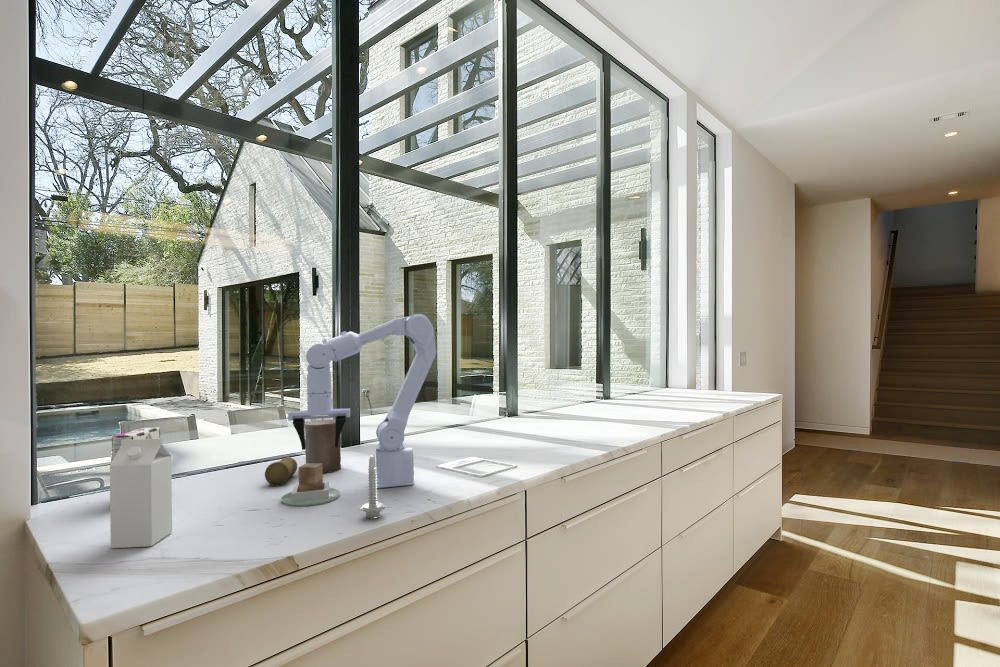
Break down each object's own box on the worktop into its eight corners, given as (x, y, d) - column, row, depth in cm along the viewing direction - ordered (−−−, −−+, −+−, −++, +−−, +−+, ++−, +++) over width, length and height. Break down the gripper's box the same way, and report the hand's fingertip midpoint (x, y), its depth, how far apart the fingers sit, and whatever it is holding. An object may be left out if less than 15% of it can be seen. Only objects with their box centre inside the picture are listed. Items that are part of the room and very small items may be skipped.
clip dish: (339, 487, 134) (339, 478, 134) (340, 502, 121) (340, 492, 121) (284, 492, 130) (284, 483, 130) (278, 509, 117) (278, 498, 117)
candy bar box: (141, 494, 131) (140, 427, 131) (162, 493, 131) (161, 426, 132) (111, 508, 120) (110, 435, 120) (134, 507, 120) (133, 434, 120)
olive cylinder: (282, 457, 137) (293, 450, 148) (260, 469, 136) (273, 461, 147) (293, 478, 137) (304, 469, 148) (271, 490, 136) (284, 480, 147)
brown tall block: (322, 492, 127) (322, 463, 127) (315, 497, 123) (315, 467, 123) (306, 492, 128) (306, 463, 128) (299, 497, 124) (298, 467, 124)
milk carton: (133, 534, 103) (132, 436, 103) (172, 533, 104) (171, 435, 104) (110, 549, 96) (109, 443, 96) (151, 547, 97) (150, 442, 97)
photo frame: (472, 456, 164) (517, 464, 152) (472, 459, 164) (517, 468, 152) (436, 464, 153) (481, 474, 141) (436, 468, 153) (481, 479, 141)
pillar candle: (348, 468, 154) (347, 416, 155) (320, 475, 146) (319, 420, 146) (325, 464, 160) (324, 414, 160) (297, 471, 151) (296, 418, 152)
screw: (376, 511, 115) (389, 516, 111) (356, 517, 111) (369, 522, 108) (375, 450, 115) (388, 453, 111) (355, 454, 111) (368, 457, 108)
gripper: (349, 390, 138) (350, 442, 138) (289, 392, 134) (290, 446, 134) (350, 392, 131) (351, 447, 131) (286, 395, 127) (287, 452, 127)
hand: (320, 447), depth 132 cm, fingers open, 7 cm apart
